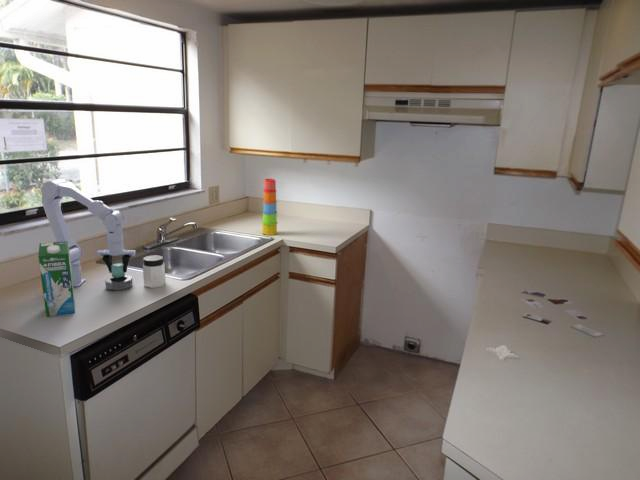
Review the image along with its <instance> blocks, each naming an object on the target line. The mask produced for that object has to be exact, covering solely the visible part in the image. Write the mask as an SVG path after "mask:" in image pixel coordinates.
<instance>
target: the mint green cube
mask: <svg viewBox="0 0 640 480" xmlns="http://www.w3.org/2000/svg"><path fill="white" fill-rule="evenodd" d="M111 272H112V273H111V276H112V277H114V278H119V277H123V276H125V275H126V274H125V273H124V271H123V263H121V262H120V263H114V264H113V263H112V265H111Z"/></svg>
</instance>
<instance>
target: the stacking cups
mask: <svg viewBox="0 0 640 480" xmlns="http://www.w3.org/2000/svg"><path fill="white" fill-rule="evenodd" d="M276 183H277V182H276V179H274V178H265V179H264V181H263V200H262V202H263V210H262V215H263V216H262V221H261V224H262V231H261V234H262V232H263V233H264V234H266V235H265V236H276V235H278V234H279V233H278V231H277V230H278V229H277V227H278V225H277V224H278V223H279V222H278V221H277V220H278V219H277V217H278V216H277V215H278V211H277V202H278V201H277V187H276ZM275 234H276V235H275Z"/></svg>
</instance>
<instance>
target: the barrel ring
mask: <svg viewBox="0 0 640 480" xmlns="http://www.w3.org/2000/svg"><path fill="white" fill-rule="evenodd" d="M104 282H105V288H106V290H108V291H111V292H121V291H125V290H129V289H131V288H132V287H133V277H132V276H131V275H128V274H125V276H123V277H119V278H114V277H112V275H110V276H109V277H107V278H106V279H105V280H104Z"/></svg>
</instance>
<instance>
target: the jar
mask: <svg viewBox="0 0 640 480" xmlns="http://www.w3.org/2000/svg"><path fill="white" fill-rule="evenodd" d="M142 262H143V264H142V276H143V277H142V278H143V286H144V287H147V288H150V289H153V288H154V289H155V288H160V287H164V285H165V284H166V282H167V281H166V267H165V265H166V263H165V261H164V256H162V255H157V254H154V255H153V254H152V255H147V256H145V257H143V258H142Z"/></svg>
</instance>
